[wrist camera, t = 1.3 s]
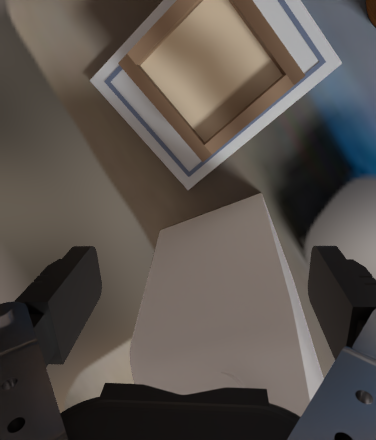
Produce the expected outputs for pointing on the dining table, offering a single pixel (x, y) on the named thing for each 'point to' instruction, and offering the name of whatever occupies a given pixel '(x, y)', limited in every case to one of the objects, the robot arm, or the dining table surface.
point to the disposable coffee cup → (371, 10)
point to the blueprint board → (196, 169)
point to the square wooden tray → (211, 69)
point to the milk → (224, 311)
